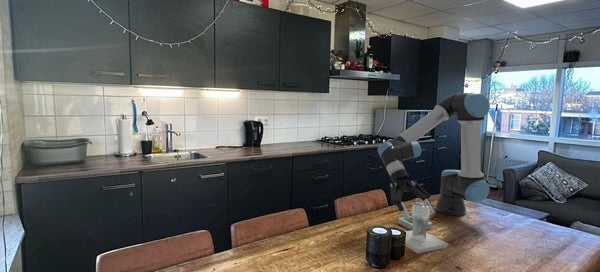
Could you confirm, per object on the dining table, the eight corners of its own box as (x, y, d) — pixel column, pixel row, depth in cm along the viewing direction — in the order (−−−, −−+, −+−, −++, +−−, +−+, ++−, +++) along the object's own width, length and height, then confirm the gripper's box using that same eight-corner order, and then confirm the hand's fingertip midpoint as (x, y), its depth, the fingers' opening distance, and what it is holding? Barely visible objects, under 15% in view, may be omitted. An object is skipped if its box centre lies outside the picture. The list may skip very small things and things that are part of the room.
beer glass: (424, 243, 129) (427, 207, 128) (407, 238, 134) (410, 204, 132) (429, 238, 135) (432, 203, 133) (413, 233, 139) (415, 200, 138)
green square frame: (415, 220, 160) (415, 215, 160) (432, 228, 150) (432, 223, 149) (397, 222, 155) (398, 218, 155) (414, 231, 145) (414, 226, 145)
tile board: (419, 232, 145) (419, 229, 144) (447, 247, 130) (448, 243, 130) (390, 237, 138) (391, 233, 138) (417, 253, 124) (418, 249, 124)
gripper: (414, 175, 152) (436, 216, 140) (371, 179, 142) (391, 223, 130) (423, 166, 147) (447, 208, 135) (379, 170, 137) (401, 215, 125)
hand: (420, 215), depth 133 cm, fingers open, 13 cm apart
